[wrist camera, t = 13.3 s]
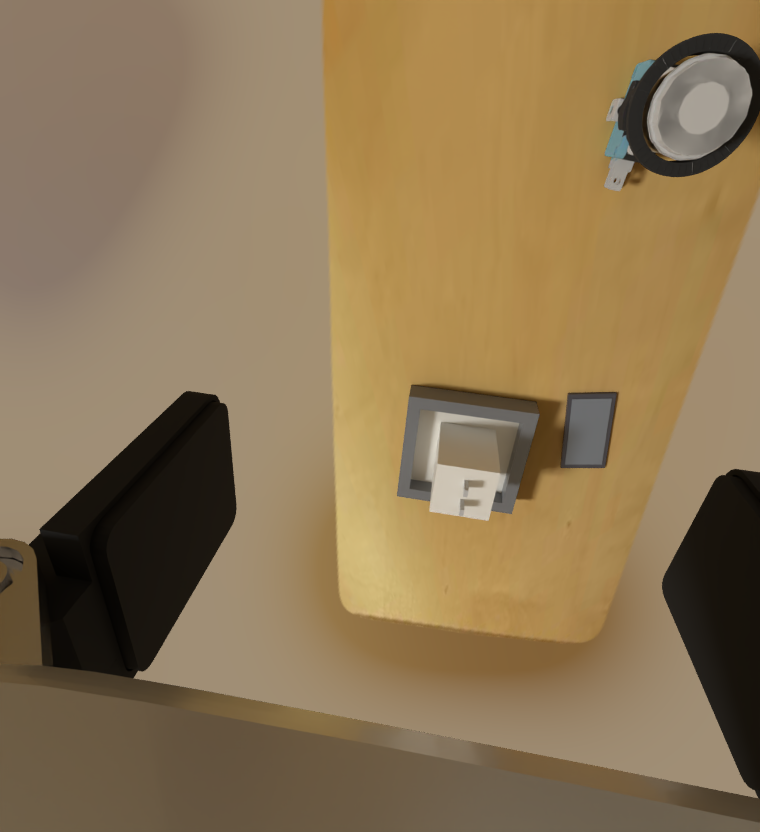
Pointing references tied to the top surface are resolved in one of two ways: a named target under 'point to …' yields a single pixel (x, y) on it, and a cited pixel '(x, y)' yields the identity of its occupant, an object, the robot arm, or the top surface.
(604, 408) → the phone
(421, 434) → the dock
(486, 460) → the charger
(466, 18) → the top surface
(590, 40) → the top surface
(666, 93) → the push button
